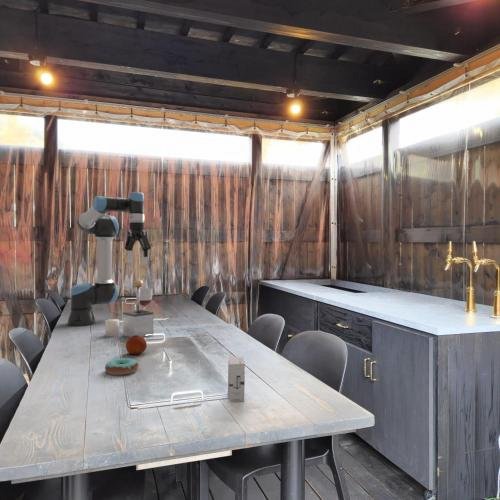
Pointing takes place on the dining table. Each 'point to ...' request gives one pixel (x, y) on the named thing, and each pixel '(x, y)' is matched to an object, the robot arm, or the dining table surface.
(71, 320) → the robot arm
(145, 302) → the wineglass
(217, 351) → the dining table surface
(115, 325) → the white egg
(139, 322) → the grey block with hole
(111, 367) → the donut
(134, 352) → the fruit
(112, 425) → the dining table surface
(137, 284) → the gold knobbed rod
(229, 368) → the ink box
